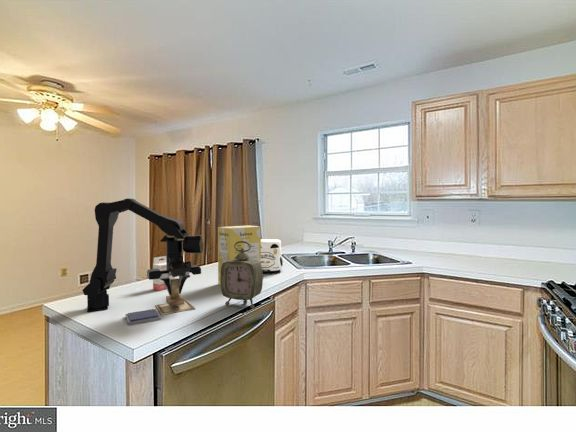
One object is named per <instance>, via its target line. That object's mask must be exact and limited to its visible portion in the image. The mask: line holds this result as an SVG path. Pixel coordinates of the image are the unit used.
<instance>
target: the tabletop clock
mask: <svg viewBox="0 0 576 432" xmlns="http://www.w3.org/2000/svg"><path fill="white" fill-rule="evenodd" d="M238 243H246V244H248V245H249V247H250V248H251V246H250V244H249V243H248V242H245V241H238V242H236V243H235V245H234V248H235V249H236V247H235V246H236V244H238ZM250 248H249V249H248V250H244V249H243V248H241V250H238V249H236V250H237V251H239V252H241V253H239V254H237V256H236V259H233V260H230V261H227V262H225V263H223V264H222V267H221V277H220V280H221V285H220V288H221V294H222V296H223V297H225V298H227V299H228V300H227V301H225V303H224V305H225V306H228V307H229V305H230V301H231V300H237V301H238V300H239V301H242V303H243V304H244V305H245V304H247V303H248V301H249V302H250V309H252V310H253V309H255V308H256V307H255V304H253V299H254V298H256V297H257V296H259V295H260V294H261V292H262V290H263V283H264V275H263V274H264V272H263V271H262V265H261V263H260V262H259V261H258V260H254V259H249V256H248V255H247V254H246V253H244V252H247V251H249V250H250Z"/></svg>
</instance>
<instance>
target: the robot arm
mask: <svg viewBox="0 0 576 432" xmlns="http://www.w3.org/2000/svg"><path fill="white" fill-rule="evenodd" d="M126 211H130V212H132V213H133V214H135V215H138V216H139V217H142V218H143V219H145V220H146V221H149V222H151V223H153V225H156V226H157V227H158V228H159V230H161V231H162V233H164V234H165V235H164V236H163V237H162V238H161V239H160V240H159V241H160V242H162V243H165V244H166V248H165V249H166V250H165V254H166V255H165V256H166V265H167V266H166V269H167V270H162V271H160V270H159V269H153V268H149V269H147V271H146V278H147V279H148V280H150V281H151V280H152V281H153V279H159V278H160V280H163V281H164V283H165V285H166V288H167V289H166V290H167V293H168V296H169V295H171V288H170V278H169V277H168V275H172V276H173V277H175V278H177V277H178V279H179V294H180V295H181V294H182V291H183V288H184V286H185V282H186V281H187V279H188V278H191V275H190V274H192V275H193V276H194V275H201V274H202V268H201V266H199V265H197V264H192V262H191V261H184V256H183V252H184V253H185V254H202V253H203V251H204V242H203V237H202V235H201V234H200V235H199V234H196V235H190V234H189V233H188V232H187V230H186V229H185V226H184V223H183V221H181V220H179V219H176V218H173V217H170V216H166V215H164V214H161V213H160V212H158V211H156V210H154V209H152V208H150V207H148V206H146V205H144V204H142V203H140V202H138V201H137V199H134V198H125V199H122V200H117V201H112V202H99V203H98V204H96V205H95V207H94V217H95V221H96V223H97V225H98V233H97V247H96V248H97V249H96V261H95V262H96V264H95V267H94V268H93V270H92V271H91V274H90V278H89V279H90V280H89V283H88V284H87V285H86V286H85V287H84V288H83V289H82V294H83V295H84V296H87V297H86V299H87V301H86V303H87V304H86V305H87V307H86V313H87V312H89V313H90V312H96V311H103V310H108V307H109V306H110V295H109V293H108V291H107V290H109V289H110V287H111V285H112V284H114V282H115V280H116V279H117V276H116V273H117V268H116V267H115V268H113V265H112V253H113V252H112V249H113V237H114V236H113V235H114V227H115V225H116V223H117V221H118V218H119V214H120V213H124V212H126Z"/></svg>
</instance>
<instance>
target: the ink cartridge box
mask: <svg viewBox="0 0 576 432" xmlns="http://www.w3.org/2000/svg"><path fill="white" fill-rule="evenodd" d="M166 266H167V265H166V255H163V256H157V257H153V264H152V269H159V270H160V271H162V270H167V269H166ZM168 277H169V278H170V279H175V278H176V277H173V276H172V275H168ZM152 289H153V290H155V291H158V292H160V291H165V290H167V288H166V285H165V283H164V281H163V280H160V278H159V279H152Z"/></svg>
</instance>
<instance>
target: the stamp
mask: <svg viewBox="0 0 576 432" xmlns="http://www.w3.org/2000/svg"><path fill="white" fill-rule="evenodd" d="M170 288H171V295H169V294H168V295H165V303H168V304H169V306H176V305H182V304H184V300H185V298H184V297H183V296H182V295H181V294H179V278H177V277H175V279H170Z"/></svg>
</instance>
